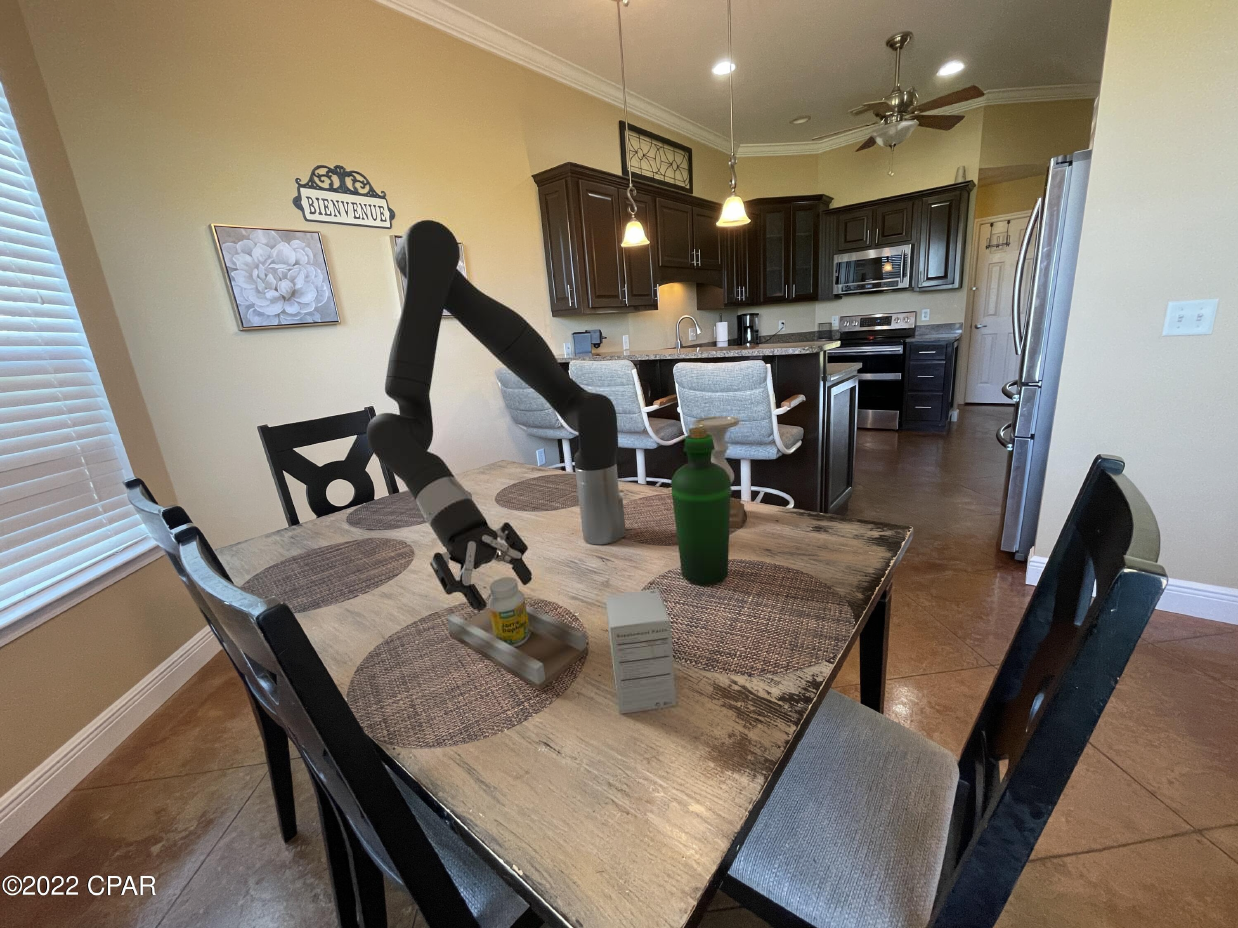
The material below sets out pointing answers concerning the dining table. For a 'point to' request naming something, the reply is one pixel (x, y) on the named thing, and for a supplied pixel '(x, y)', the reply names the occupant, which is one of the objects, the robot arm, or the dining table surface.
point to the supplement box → (641, 650)
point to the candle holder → (723, 458)
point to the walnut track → (524, 645)
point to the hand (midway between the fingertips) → (506, 594)
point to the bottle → (702, 511)
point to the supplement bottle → (508, 612)
